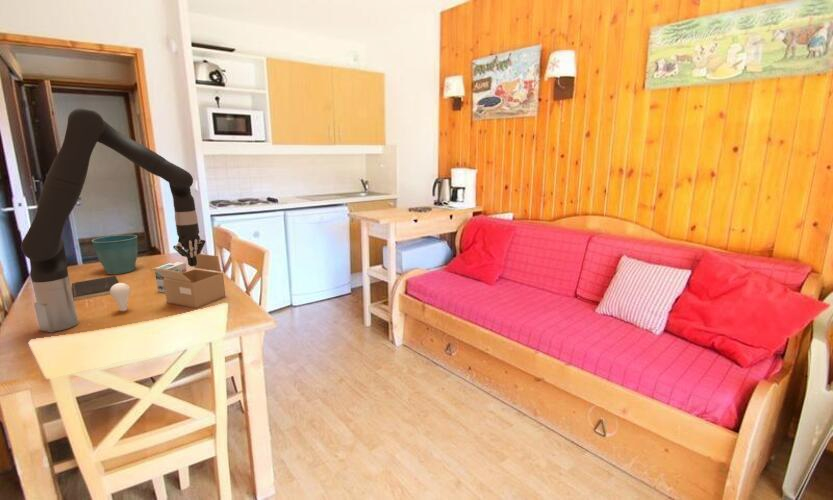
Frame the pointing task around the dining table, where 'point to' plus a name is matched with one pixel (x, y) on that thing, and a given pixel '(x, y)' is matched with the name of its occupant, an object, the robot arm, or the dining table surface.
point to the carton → (195, 288)
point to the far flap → (208, 262)
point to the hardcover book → (93, 287)
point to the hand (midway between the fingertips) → (193, 265)
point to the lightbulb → (120, 295)
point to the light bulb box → (170, 266)
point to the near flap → (171, 274)
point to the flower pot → (117, 253)
